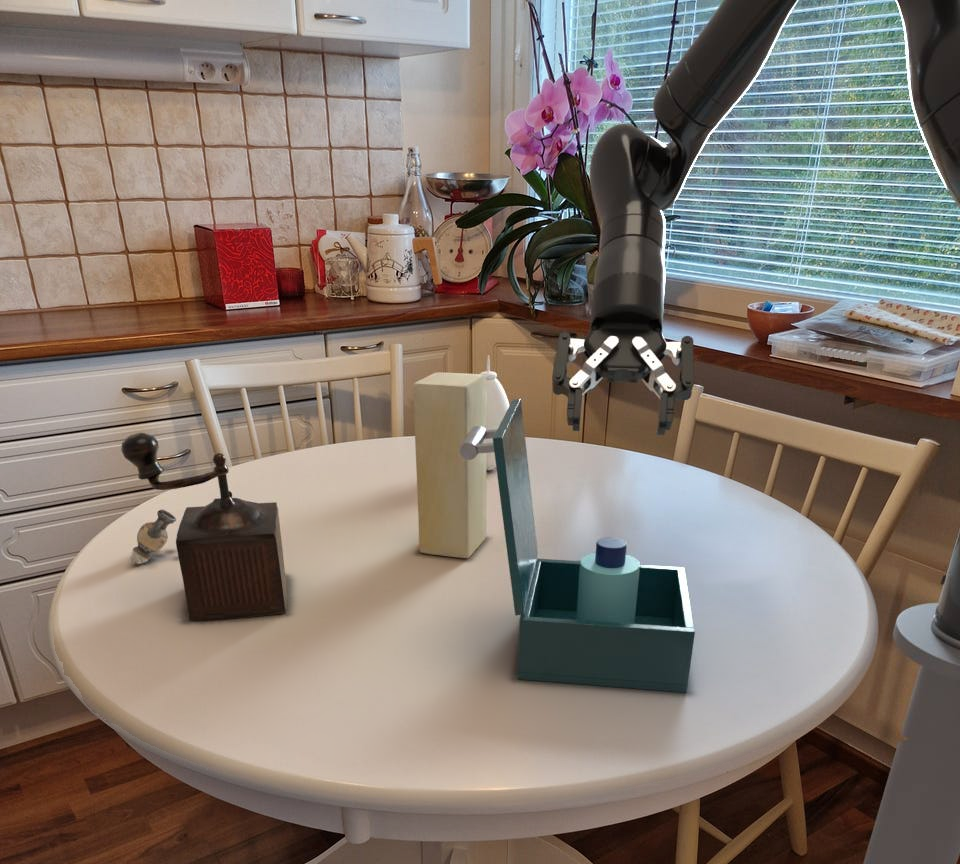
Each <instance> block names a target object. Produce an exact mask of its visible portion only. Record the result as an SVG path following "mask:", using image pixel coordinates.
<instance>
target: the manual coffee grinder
mask: <svg viewBox="0 0 960 864" xmlns="http://www.w3.org/2000/svg"><path fill="white" fill-rule="evenodd" d="M159 447H160V446H159V440H158V439H156V437H155V436H154V435H152V434H149V433H145V432H138V433H135V434H132V435H129V436H127V437H126V438H125V439H124V440H123V441H122V442H121V449H120V451H121V453H122V455H123V457H124V459H126V460H127V461H129V462H130V463H131V464H132V465H134V466H135V467H136V468H137V471H138V475H137V477H138V479H139V480H142V481H143V480H146V481H148V484H149V485H150V487H151V488H152V489H154V490H156V491H157V490H158V491H168V490H177V489H182V488H183V489H184V488H187V487H192V486H193V487H194V486H196V485H201V484H205V483H207V482H209V481H211V480H213V479H216V478H217V481H218V489H219V496H220V498H214V499H213V501H212V502H210V503H208V504H206V505H205V506H204V505H203V506H187V507H186V508H185V510H184V512H183V515H182V518H181V520H180V523H179V526H178V529H177V532H176V538H175V546H176V551H177V556H178V562H179V567H180V571H181V579H182V582H183V588H184V593H185V599H186V607H187V612H188V619H189V621H192V622H209V621H221V620H231V619H243V618H245V619H246V618H253V617H254V618H255V617H263V616H272V615H279V614H281V615H282V614H286V612H287V608H288V577H287V575H286V568H285V560H284V550H283V541H282V532H281V523H280V515H279V514H280V513H279V507H278V503H277V502H276V501H275V502H273V501H271V502H255V501H249V500H246V499H245V500H244V499H241V498H238V497H233V493H232V491H230V490H229V484H228V477H227V474H228V473H229V472H230V469H229V467H228V466H227V465H226V463H227V462H226V461H227V458H226V455H224V454H223V453H221V452H218V453H215V454H214V455H213V458H212V462H213V464H214V467H213V471H209V472H206V473H204V474H199V475H196V476H191V477H185V478H181V479H176V480H175V479H174V480H169V481H160V480H159V478H160V476H161V474H163V473H164V472H165V469H164V467H162V466H161V464H160V463H159V461H158V451H159Z"/></svg>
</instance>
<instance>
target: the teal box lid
mask: <svg viewBox="0 0 960 864" xmlns="http://www.w3.org/2000/svg"><path fill="white" fill-rule="evenodd" d="M522 405H523V404H522V399H521V398H514V399H512V400H511V402H510V403H509V408H508V410H507V412H506V414H505V416H504V418H503V420H502V421H501V423H500V425H499V427H498V429H493V430H485V429H484V428H483V427H481V426H475V427H473V428H472V429H471V431H470V432H469V434H468V436H467V437H466V439H465V440H464V442H463V444H462V445H461V447H460V455H461V456H462V457H463V458H464V459H466V460H472V459H474V458H475V457H476V456H477V454H481V453H491V452H494V453H495V461H496V468H495V469H496V476H497V483H498V491H499V500H500V506H501V507H500V508H501V515H502V523H503V531H504V537H505V539H504V540H505V546H506V554H507V563H508V571H509V577H510V586H511V591H512V592H511V593H512V600H513V601H512V602H513V608H514V615H515V616H521V615H524V612H525V607H526V603H527V599H528V594H529V590H530V586H531V581H532V577H533V573H534V568H535V564H536V560H537V559H538V556H539V551H538V541H537V532H536V524H535V515H534V505H533V496H532V488H531V487H532V486H531V479H530V478H531V477H530V469H529V461H528V451H527V443H526V442H527V441H526V433H525V424H524V416H523V414H524V413H523V406H522ZM492 438H493V443H487V444H483V443H484V441H485V439H492Z"/></svg>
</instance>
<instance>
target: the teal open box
mask: <svg viewBox="0 0 960 864" xmlns="http://www.w3.org/2000/svg"><path fill="white" fill-rule="evenodd" d="M579 570H580V560H567V559H554V558H553V559H551V558H550V559H549V558H537V560H536V564H535V568H534V573H533V577H532V581H531V586H530V590H529V594H528V599H527V603H526V607H525V612H524V615H519V620H518V621H519V624H518V652H517V653H518V657H517V679H518V680H524V681H535V682H536V681H537V682H550V683H559V684H560V683H562V684H575V685H585V686H586V685H588V686H599V687H611V688H612V687H613V688H623V689H625V688H626V689H638V690H649V691H662V692H674V693H687V692H688V685H689V678H690V671H691V664H692V657H693V650H694V644H695V635H696V630H695V624H694V617H693V614H692V613H693V612H692V606H691V600H690V594H689V588H688V581H687V576H686V570H685V567H681V566H667V565H666V566H664V565H649V564H640V571H639V581H638V591H637V600H636V610H635V620H634V624H627V623H613V622H598V621H584V620H576V616H577V601H578V586H579Z"/></svg>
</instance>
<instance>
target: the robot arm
mask: <svg viewBox="0 0 960 864" xmlns="http://www.w3.org/2000/svg"><path fill="white" fill-rule="evenodd" d="M798 2H799V0H722V2H721V3H720V5H719V6H718V7H717V9H716V10H715V12H714V13H713V15H712V16H711V17H710V19H709V20H708V22H707V23H706V24H705V26H704V27H703V29H702V30H701V32H700V33H699V34H698V35H697V37H696V38H695V39H694V41H693V42H692V44H691V45H690V46H689V48H688V49H687V50H686V52H685V53H684V54H683V56H682V57H681V58H680V60H678V62H677V63H676V65H675V66H674V67H673V69H672V70H671V72H670V73H669V75H668V76H667V77H666V78H665V80H664V81H663V83H662V84H661V86H660V87H659V88H658V90H657V92H656V93H655V95H654V98H653V101H652V111H653V114H654V117H655V120H656V121H657V123H658V125H659V126H660V128H661V129H662V130H663V131H664V133H665V134H667V135H668V137H669V138H670V141H669V142H668V143H667V144H665V143H663V142H661V141H660V140H658V139H657V138H655V137H653V136H651V135H649V134H648V133H646V132H645V131H643V130H641V129H640V128H638V127H636V126H634V125H632V124H628V123H619V124H615V125H613V126H611V127H609V128H608V129H606V131H605V132H604V133H603V134H602V135H601V136H600V138H599V139H598V140H597V142H596V145H595V146H594V149H593V151H592V155H591V158H590V164H589V165H590V166H589V185H590V191H591V196H592V201H593V204H594V208H595V213H596V218H597V222H598V225H599V228H600V233H599V234H600V235H599V245H598V246H599V247H598V257H597V264H596V267H595V270H594V276H593V288H592V292H591V293H592V299H591V301H592V302H591V311H590V323H589V332H588V334H587V336H586V337H585V338H573V337H571V336H572V335H571V333H569V332H568V331H562V332H560V333H559V335H558V340H557V346H556V350H555V351H556V352H555V358H554V363H553V369H552V375H551V380H552V381H551V382H552V393H553V394H554V395H556V396H560V395H564V396H566V398H567V405H566V406H567V407H566V423H567V425H568V426H572V432H580V430H581V417H582V409H583V408H582V406H583V396H584V395H585V394H586V393H587V392H588V391H589V390H592V389H594V388H595V387H596V386H597V385H598V384H599V383H600V382H601V381H602V380H603V379H604V380H606V382H607V383H617V382H618V383H619V382H626V383H629V384H630V383H631V384H638V381H642V382H643V384H644V385H645V386H646V387H647V388H648V390H649V391H650V392H653V393H654V395H656V396H657V398H658V400H659V402H658V410H657V411H658V413H657V426H656V427H657V428H656V429H657V430H656V435H657V436H665V433H666V431H670V430H671V428H672V427H673V422H674V415H675V414H674V412H675V402H676V401H678V400H682V401H688V400H689V399H691V397H692V394H693V387H694V385H695V350H694V338H693V337H692V336H690V335H684V336H683V337H682V338H681V341H667V340H666V339H665V338H664V335H663V326H664V310H665V296H666V290H665V289H666V267H665V266H666V265H665V251H666V250H665V249H666V229H667V228H666V227H667V226H666V218H665V216H664V213H663V212H665V211H666V210H668V209H669V208H670V207H671V206H672V205H673V204H674V203H675V201H676V200H677V199H678V198H679V195H680V193H681V191H682V189H683V188H684V185H685V183H686V180H687V178H688V176H689V174H690V172H691V170H692V168H693V166H694V164H695V162H696V160H697V158H698V156H699V155H700V153H701V151H702V150H703V148H704V146H705V145H706V142H707V141H708V139H709V137H710V135H711V134H712V133H713V132H714V131H715V129H717V127H718V126H719V124H720V123H721V122H722V121H723V120H724V119H725V117H726V116H727V115H728V114H729V113H730V112H731V111H732V109H733V108H734V107H735V105H737V103H738V102H739V101H740V100H741V98H743V96H744V95H745V94H746V92H747V91H748V90H749V89H750V87H751V86H752V85H753V83H754V82H755V80H756V78H757V77H758V76H759V74H760V73H761V70H762V68H763V67H764V65H765V63H766V62H767V60H768V58H769V56H770V54H771V52H772V49H773V48H774V45H775V43H776V41H777V39H778V38H779V35H780V33H781V31H782V28H783V27H784V25H785V23H786V21H787V19H788V18H789V15H790V14H791V13H792V10H793V9H794V7H795V6H796V5H797V3H798ZM895 2H896V4H897V7H898V10H899V13H900V17H901V21H902V26H903V31H904V32H903V33H904V41H905V42H904V43H905V44H904V45H905V55H906V56H905V57H906V69H907V82H908V90H909V96H910V103H911V106H912V110H913V113H914V117H915V120H916V123H917V126H918V129H919V130H920V133H921V136H922V139H923V140H924V143H925V146H926V149H927V150H928V153H929V156H930V158H931V160H932V162H933V165H934V167H935V169H936V171H937V174H938V175H939V177H940V179H941V181H942V182H943V184H944V186H945V188H946V191H948V193H949V194H950V196H951V197H952V199H953V200H954V202H955V204H956V205H957V207H958V208H959V209H960V0H895ZM580 353H583V354H584V356H585V357H586V361H585V362H584V363H583V364H582V367H581V369H579V371H577V373H576V374H574V375H573V376H572V377H569V376H567V375H568V370H569V364H570V363H571V362H573V361H574V360H576V359H577V358H578V357H577V356H578V355H579V354H580ZM665 356H669V357H670V359H671V362H672V363H673V364H674V365H675V366H678V381H674V380H673V379H672V378H671V376H670V375H669V374H668V373H667V371H666V368H665V366H664V364H663V363H662V362H661V361H662V360H663V359H664V358H665ZM951 554H952V555H951V558H950V562H949V565H948V568H947V572H946V574H944V575H942V578H941V582H940V586H941V585H943V586H942V589H941V592H940V596H939V599H938V602H937V603H938V606H937V608H936V611H935V615H934V617H933V619H932V623H931V630H932V632H933V633H934V635H935V636H936V637H938V638H939V639H940V640H942V641H943V642H945V643H946V644H948V645H950V646H952V647H955V648H957V649H960V529H959V530H958V534H957V536H956V541H955V544H954V548H953V550H952V553H951Z"/></svg>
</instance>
